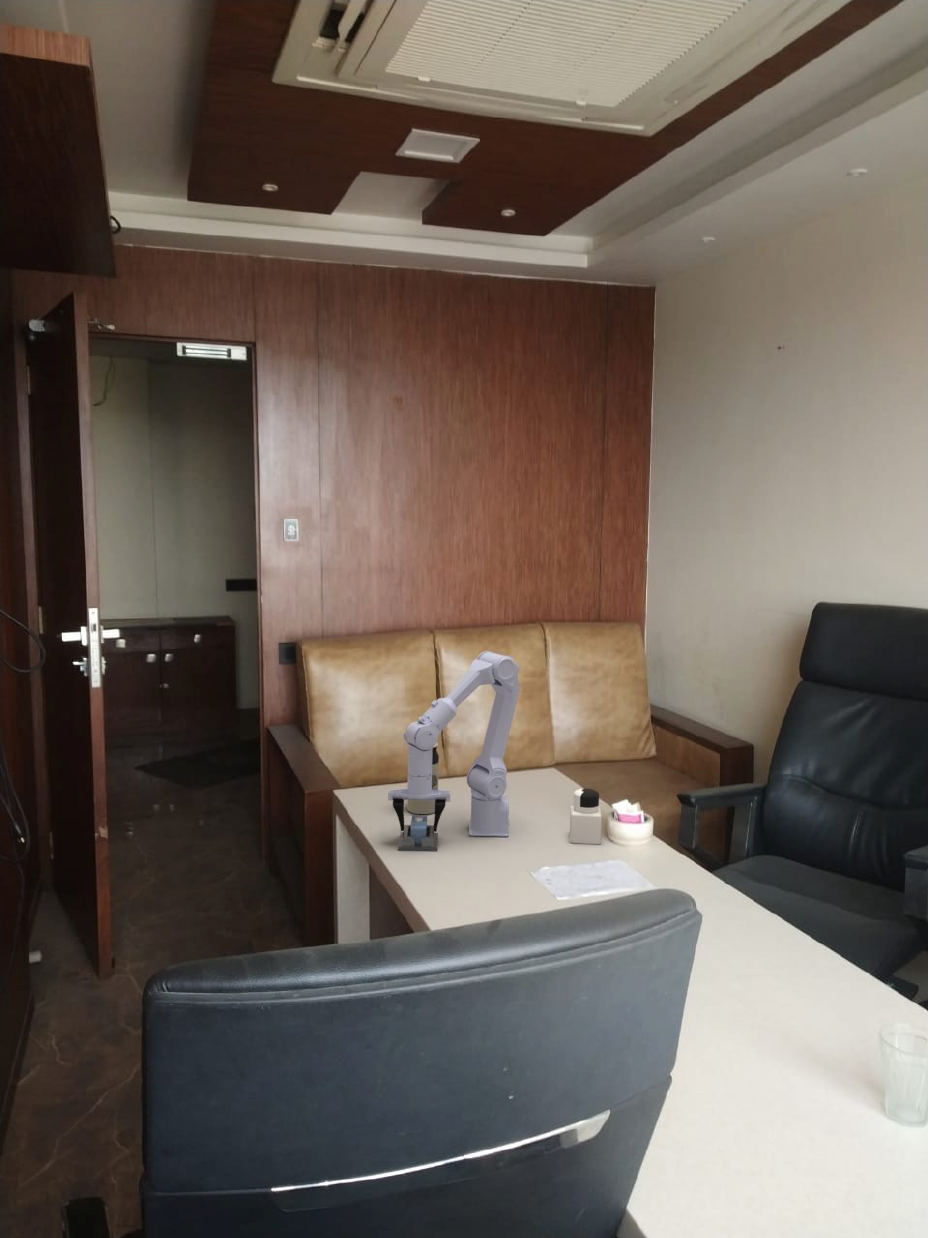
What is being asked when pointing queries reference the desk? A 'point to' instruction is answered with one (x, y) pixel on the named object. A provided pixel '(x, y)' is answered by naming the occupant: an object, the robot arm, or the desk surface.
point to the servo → (418, 827)
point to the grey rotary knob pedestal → (585, 817)
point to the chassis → (426, 842)
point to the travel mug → (429, 805)
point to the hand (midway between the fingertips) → (418, 830)
